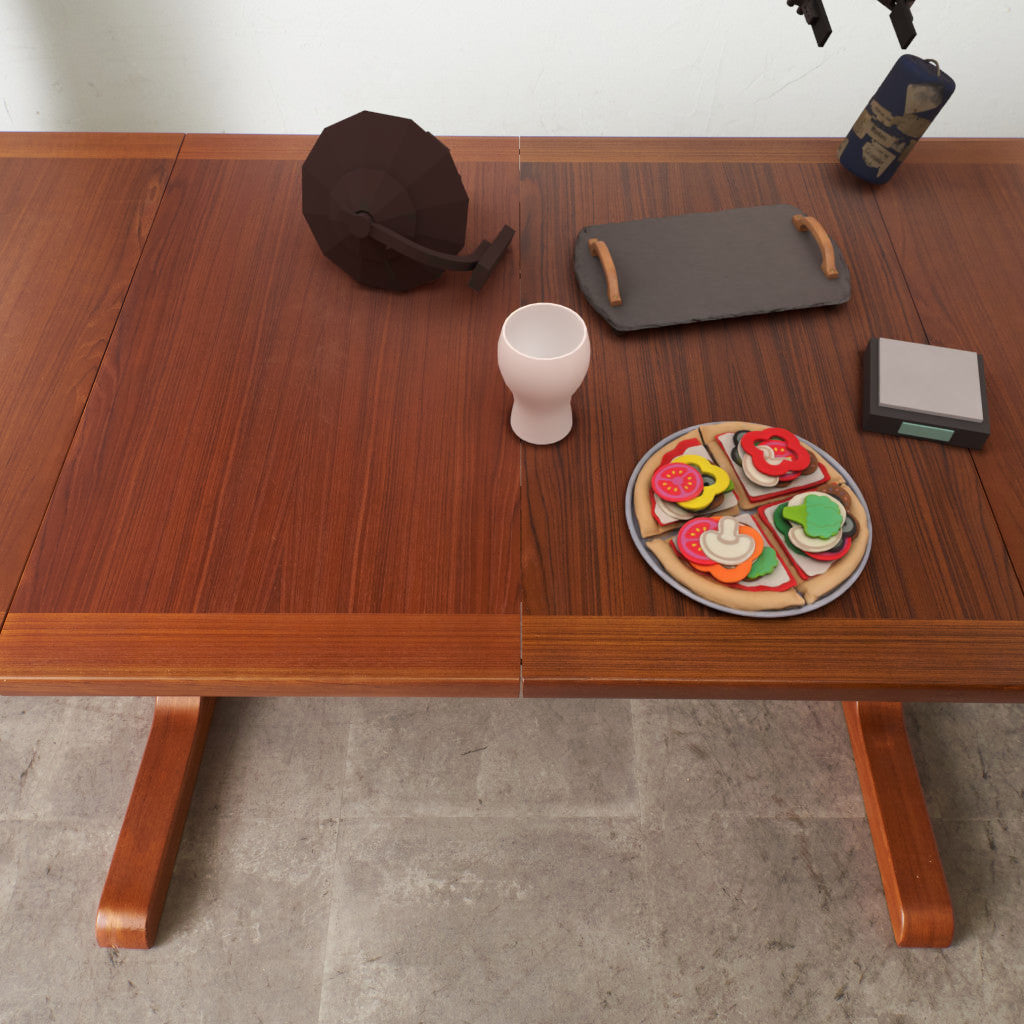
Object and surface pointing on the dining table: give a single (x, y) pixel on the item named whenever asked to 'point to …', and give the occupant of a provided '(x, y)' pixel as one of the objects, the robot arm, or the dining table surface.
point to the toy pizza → (748, 519)
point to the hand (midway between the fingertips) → (867, 41)
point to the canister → (895, 119)
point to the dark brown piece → (391, 205)
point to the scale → (925, 393)
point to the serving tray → (708, 267)
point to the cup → (543, 368)
